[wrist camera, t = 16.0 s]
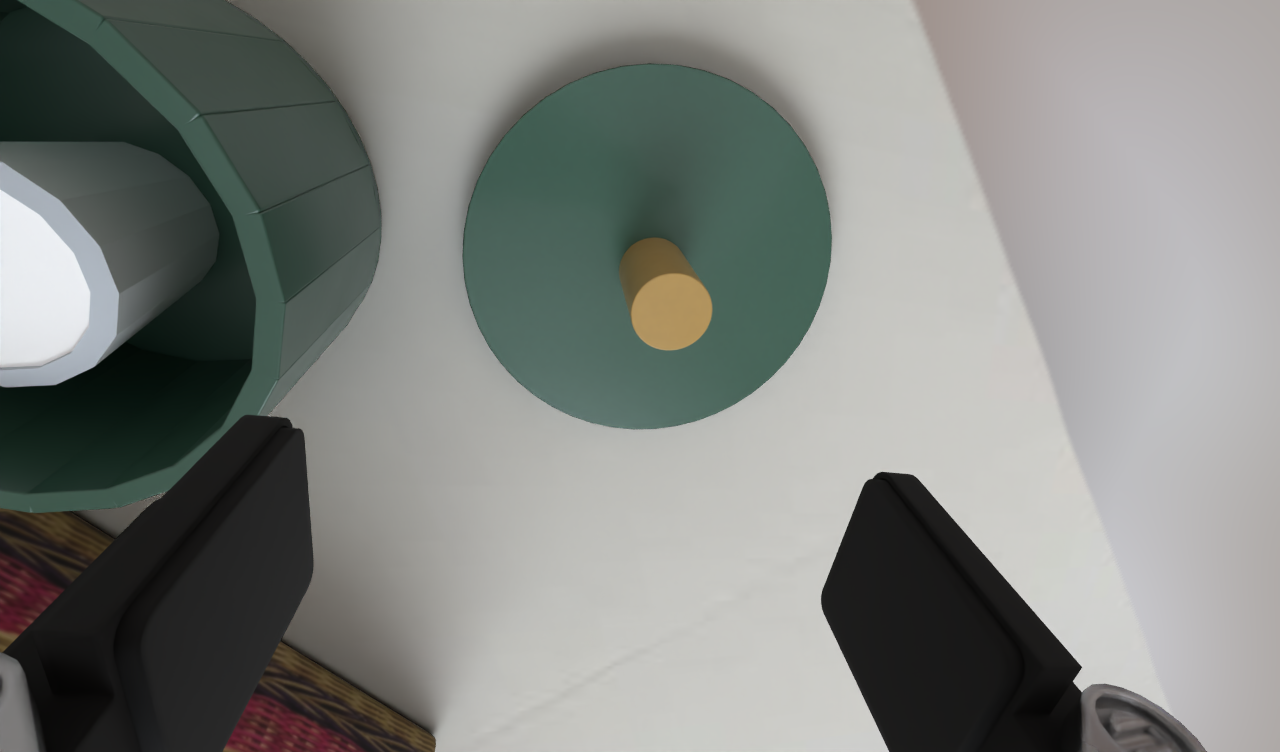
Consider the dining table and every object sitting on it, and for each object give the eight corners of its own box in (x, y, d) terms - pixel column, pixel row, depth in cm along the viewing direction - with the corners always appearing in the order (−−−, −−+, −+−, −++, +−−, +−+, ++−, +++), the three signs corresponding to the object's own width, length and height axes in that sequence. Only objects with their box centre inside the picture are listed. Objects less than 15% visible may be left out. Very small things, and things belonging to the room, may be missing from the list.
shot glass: (228, 142, 22) (93, 168, 15) (244, 320, 24) (135, 402, 18) (5, 102, 20) (-242, 113, 14) (48, 295, 23) (-141, 374, 17)
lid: (679, 467, 31) (704, 551, 25) (399, 309, 26) (355, 372, 20) (892, 219, 26) (978, 256, 21) (604, -35, 21) (618, -73, 16)
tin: (291, 425, 27) (168, 581, 19) (-97, 245, 22) (-499, 346, 14) (448, 149, 23) (381, 191, 15) (11, -148, 18) (-474, -346, 10)
